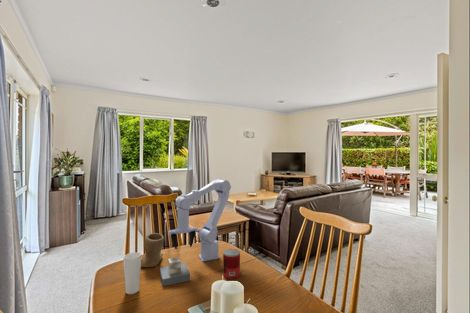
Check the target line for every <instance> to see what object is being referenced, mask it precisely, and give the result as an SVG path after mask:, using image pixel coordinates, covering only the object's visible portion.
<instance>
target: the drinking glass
mask: <svg viewBox="0 0 470 313" xmlns="http://www.w3.org/2000/svg"><path fill="white" fill-rule="evenodd" d="M141 260H142V254H141V253H140V252H134V251H133V252H129V253H127V254H124V255H123V275H124V276H123V277H124V285H125V290H124V291H125V293H126V294H128V295H134V294H137V293H138V292H139V291H140V284H141V283H140V281H141V268H142V267H141Z"/></svg>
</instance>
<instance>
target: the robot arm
mask: <svg viewBox="0 0 470 313" xmlns="http://www.w3.org/2000/svg"><path fill="white" fill-rule="evenodd" d="M231 188H232V185H231V182H230V181H229V180H226V179H219V178H216V179H214V180H212V181H211V182H210V183H208V184H206V185H205V186H202V188H200V189H199V190H198V189H192V190H191V192H189V193H188V194H184V195H183V196H180V197H178V198H177V199H176V200H175V206H176V208H177V228H175V229H169V230H168V236H171V238H172V241H173V245H174V249H175V250H177V249H178V244H177V241H178V240H177V239H178V236H177V235H178V234H179V235H180V234H186V233H188V234H189V246H190V248H191V247H193V243H194V239H195V238H196V235H197V232H198V237H199V239H200V254H199V255H198V257H199V258H200V260H201V262H207V261H213V260H218V259H220V254H219V252H220V251H219V250H220V245H219V242H218V240H217V237H218V235H217V234H218V228H217V226H218V223H219V222H220V218H221V216H222V214H223V212H224V209H225V208H226V205H227V203H228V200H229V197H230V191H231ZM212 191H215V192H216V194H217V195H218V196H217V197H218V198H217V200H216V203H215V205H214V206H213V209H212V212H211V213H210V216H209V218H208V220H207V222H206V223H204V224H203V226H202V227H201V228H200V229H199V230H198V227H197V226H196V227H195V226H193V227H190V208H191V206H192V205H194V204H195V203H197V202H198V201H200V200H201V199H202V196H205V195H207V194H208V193H211V192H212Z"/></svg>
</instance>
